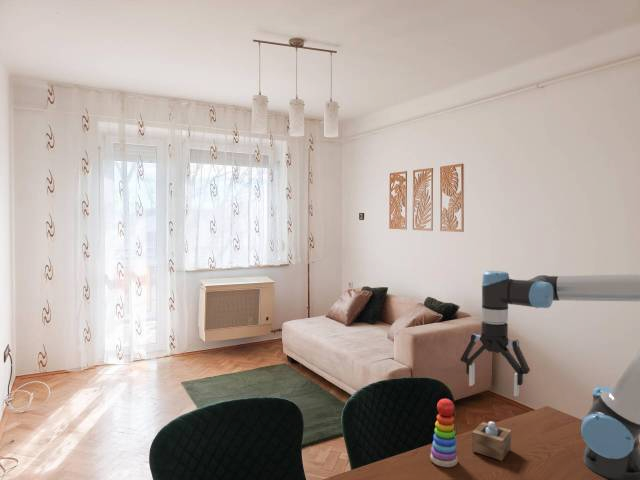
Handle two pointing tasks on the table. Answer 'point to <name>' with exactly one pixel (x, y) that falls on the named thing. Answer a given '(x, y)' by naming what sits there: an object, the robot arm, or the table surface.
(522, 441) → the table surface
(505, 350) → the robot arm
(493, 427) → the pale blue pawn
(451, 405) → the stacking toy
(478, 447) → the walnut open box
